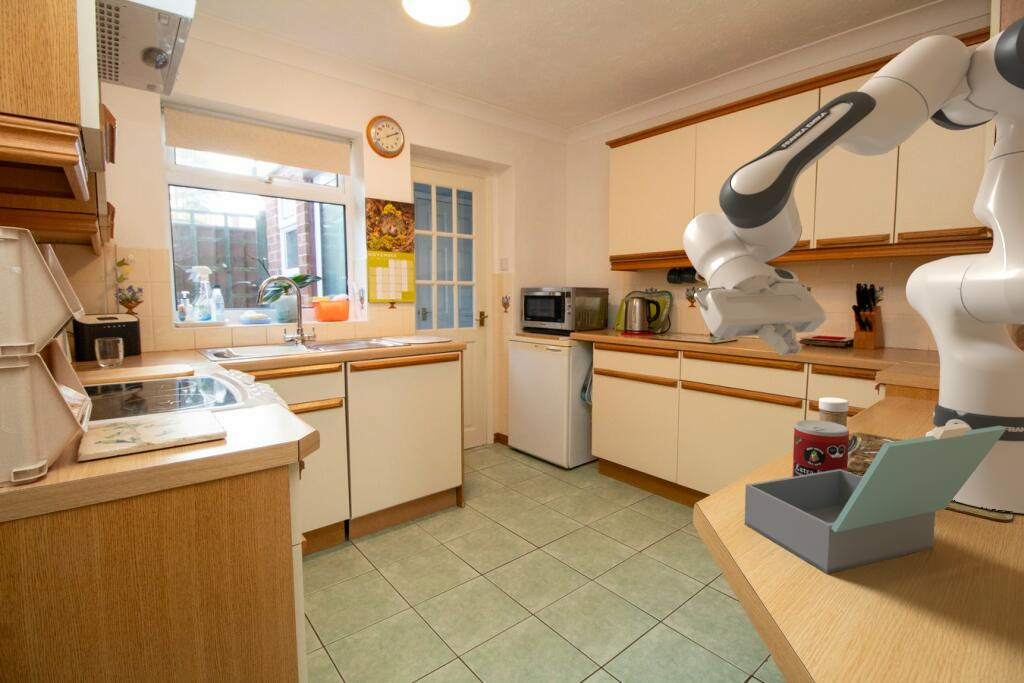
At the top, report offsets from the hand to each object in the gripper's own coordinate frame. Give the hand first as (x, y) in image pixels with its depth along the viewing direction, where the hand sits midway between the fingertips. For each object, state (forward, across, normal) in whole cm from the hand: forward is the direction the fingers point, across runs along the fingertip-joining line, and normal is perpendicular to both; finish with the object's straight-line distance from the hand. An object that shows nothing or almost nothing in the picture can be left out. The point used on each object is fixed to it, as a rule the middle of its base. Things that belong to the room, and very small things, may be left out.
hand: (791, 352), depth 71 cm
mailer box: (+23, 0, +12) cm, 26 cm away
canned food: (+14, +12, +21) cm, 28 cm away
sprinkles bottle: (+10, +22, +25) cm, 35 cm away
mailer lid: (+21, 0, -4) cm, 21 cm away
